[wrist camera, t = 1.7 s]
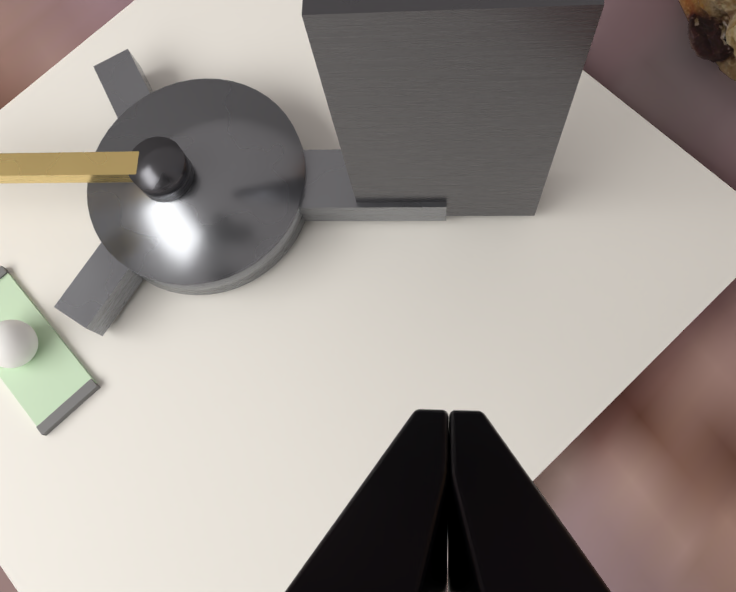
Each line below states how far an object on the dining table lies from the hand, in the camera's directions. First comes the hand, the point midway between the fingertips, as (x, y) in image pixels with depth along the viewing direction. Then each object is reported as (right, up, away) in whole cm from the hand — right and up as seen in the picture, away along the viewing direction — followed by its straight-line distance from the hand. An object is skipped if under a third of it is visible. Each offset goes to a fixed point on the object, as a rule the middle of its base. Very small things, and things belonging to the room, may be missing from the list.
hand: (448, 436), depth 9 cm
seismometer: (-7, +5, +13) cm, 15 cm away
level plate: (-4, +3, +13) cm, 14 cm away
